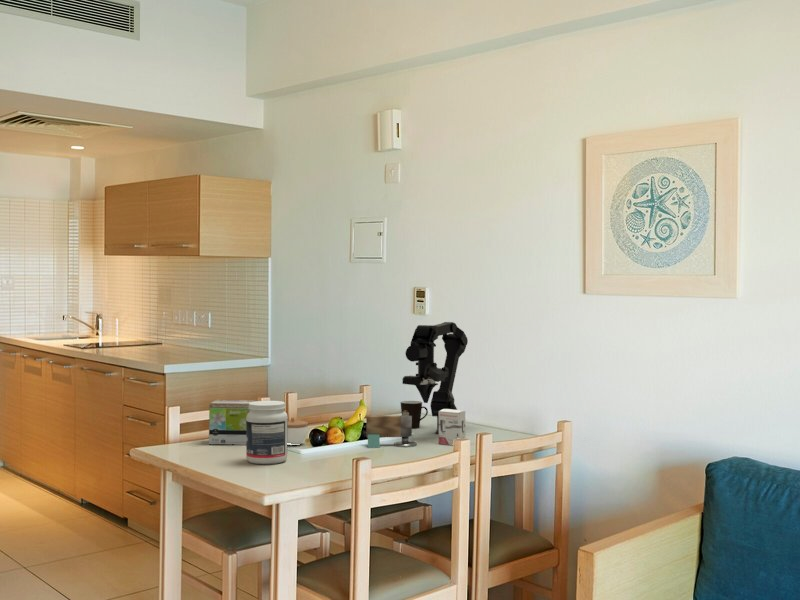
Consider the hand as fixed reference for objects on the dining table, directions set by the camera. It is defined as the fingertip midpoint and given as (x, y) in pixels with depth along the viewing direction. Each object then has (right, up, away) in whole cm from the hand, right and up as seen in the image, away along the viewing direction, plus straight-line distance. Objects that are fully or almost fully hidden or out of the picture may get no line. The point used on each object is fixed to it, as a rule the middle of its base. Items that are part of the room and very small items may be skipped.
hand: (425, 402), depth 314 cm
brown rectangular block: (-13, -10, -13) cm, 21 cm away
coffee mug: (-4, -13, +25) cm, 28 cm away
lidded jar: (-47, -13, -13) cm, 50 cm away
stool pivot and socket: (-12, -13, -14) cm, 22 cm away
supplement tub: (-51, -14, -43) cm, 68 cm away
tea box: (-68, -13, -9) cm, 70 cm away
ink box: (+9, -13, -11) cm, 19 cm away
